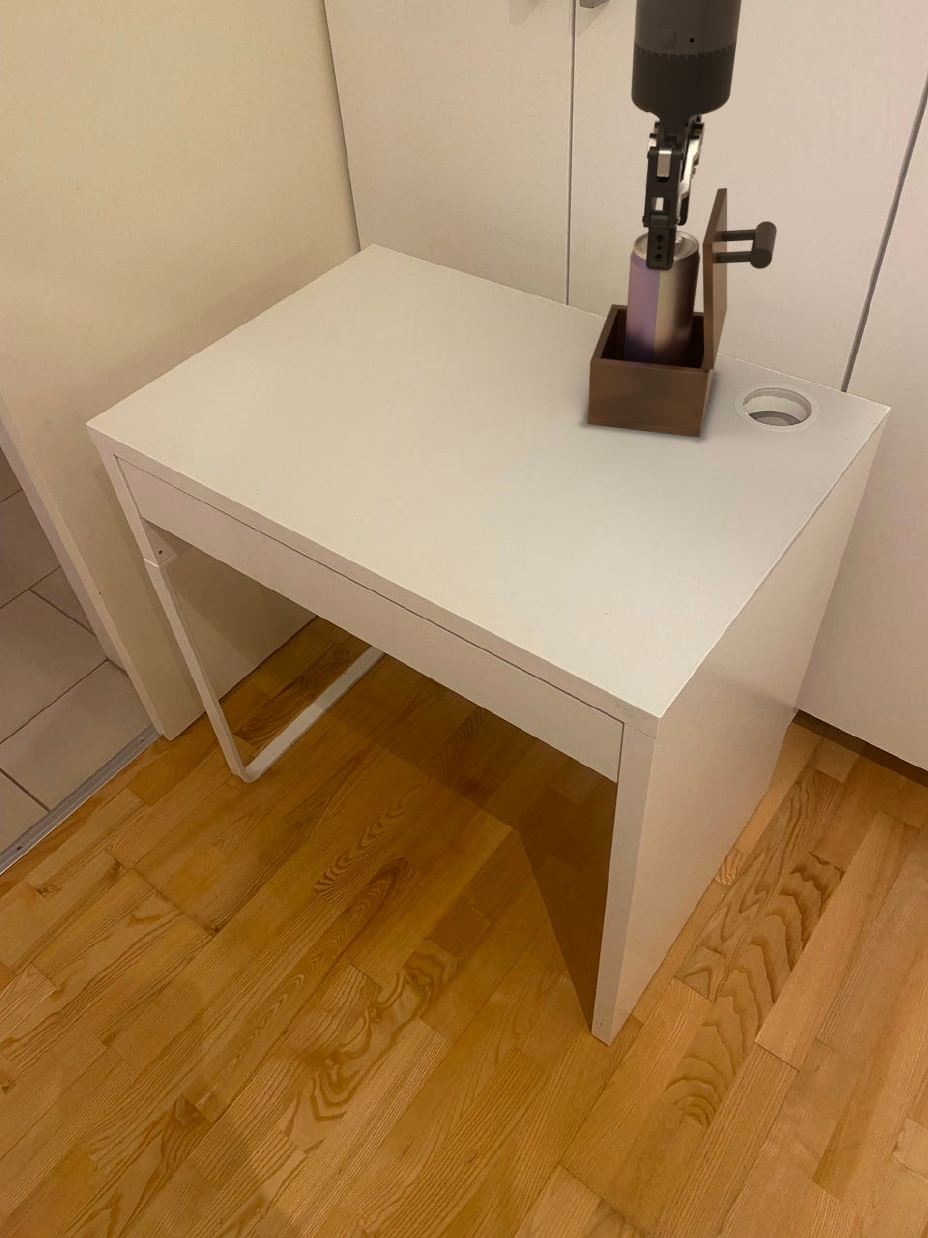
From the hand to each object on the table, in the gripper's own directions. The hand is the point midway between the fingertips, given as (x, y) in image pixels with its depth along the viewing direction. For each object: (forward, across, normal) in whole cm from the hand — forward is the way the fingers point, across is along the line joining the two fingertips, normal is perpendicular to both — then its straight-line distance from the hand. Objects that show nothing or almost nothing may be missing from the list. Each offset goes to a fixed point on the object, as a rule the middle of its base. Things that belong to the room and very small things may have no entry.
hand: (666, 244), depth 83 cm
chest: (+16, 0, 0) cm, 16 cm away
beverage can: (+15, 0, 0) cm, 15 cm away
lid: (+3, 0, -4) cm, 5 cm away
